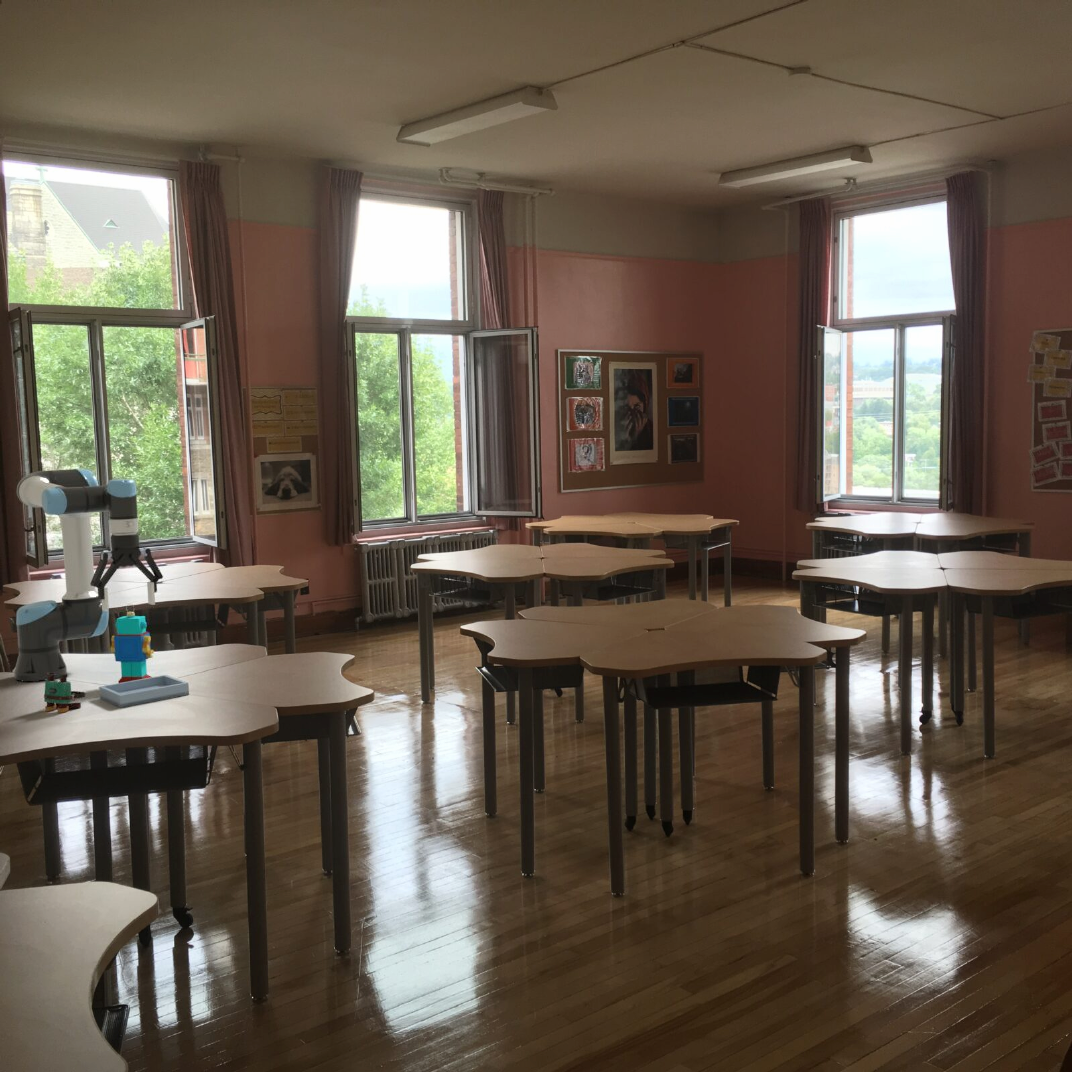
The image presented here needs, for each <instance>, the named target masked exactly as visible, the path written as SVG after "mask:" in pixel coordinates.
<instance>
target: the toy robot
mask: <svg viewBox="0 0 1072 1072" xmlns="http://www.w3.org/2000/svg"><path fill="white" fill-rule="evenodd" d="M129 605H132V606H133V604H132V603H129V604H127V605H126V607H125V609H126V611H127V612H126V615H125V616H120V617H118V618H116V622H115V625H114V626H115V628H116V630H117V631H116V632H117V634H115V635H112V636H111V639H110V640H111V646H110V652H111V653H113V655H114V659H115V660H114V661H115V662H118V663H119V662H120V669H121V677H120V678H119V680H118V683H123V682H128V681H134V680H140V679H145V678H151V677H152V676H151V675H148V673H147V672H148V670H147V660H148V659H153V658H154V656H153V654H155V651H154V649H151V640H152V639H151V638H152V637H151V635H150V633H151V632H149V631H147V626H148V624H147V622H146V616H145V615H141V616H139V615H136V614H135V609H133V611H128V609H127V608H128V606H129Z"/></svg>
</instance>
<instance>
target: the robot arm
mask: <svg viewBox="0 0 1072 1072" xmlns="http://www.w3.org/2000/svg"><path fill="white" fill-rule="evenodd" d="M136 486H137V485H136V481H135V480H134V479H132V478H127V479H126V478H125V479H124V478H123V479H122V478H121V479H120V478H118V479H109V480H108V482H107V484H102V485H99V483H98V479H97V478H96V475H95V474H94V473H93V472H92V471H91V470H89V469H82V468H74V469H55V470H54V469H52V470H37V471H34V472H31V473H29V474H27V475H25V476H24V477H23V478H21V479H20V480H19V482H18V483H17V486H16V496H17V498H18V499H19V501H20V502H21V503H22V504H23V505H25V506H28V507H30V508H42V509H43V513H44V514H46V515H49V516H51V515H54V516H59V517H60V523H61V536H62V549H63V560H64V561H63V562H64V563H63V564H64V575H65V588H66V589H65V590H66V592H65V593H64V595H63V596H62V597H61V603H59V604H58V603H57V601H55V600H54V599H53V600H51V599H50V600H41V601H36V602H32V603H31V602H30V603H27V604H25V605H23V606H21V607H19V608H18V610H16V622H15V624H16V631H17V645H18V657H17V661H16V664H15V668H14V672H13V675H14V676H13V677H14V678H15V679H17V680H21V681H20V682H23V681H33V682H40V681H39V680H44V681H46V680H45V679H48V677H47V673H48V672H52V673H55V674H56V675H55V677H54V680H56V679H60V678H59V676H60V675H63V674H68V670H67V665H66V662H65V660H64V658H63V655H62V653H61V651H60V642H62V641H63V642H64V641H67V640H68V641H69V640H77V639H83V638H88V639H90V638H93V637H96V636H101V635H103V634H104V633H105V632H106V629H107V628H108V623H109V611H110V610H109V609H110V607H109V594H108V593H109V592H108V590H109V589H108V587H106V585H107V584H108V583H109V581H110V580H111V578H112V577H113V576H114V574H115V573H116V572H117V570H118V569H119V568H120V567H122V568H124V567H128V566H129V567H133V566H135V567H136V568H137V569H138V570H139V571H140V572H141V573H142V574H143V575H144V576H145V577H146V578H147V579H148V580H149V581H146V587H147V603H148V605H153V606H154V605H156V599H155V593H157V592H158V583H157V582H159V580H162V579H163V578H164V575H163V574H162V572H161V569H159V567H158V564H157V563H156V561H155V559H154V558H153V556H152V551H151V549H150V548H148V547H144V548H143V549H140V535H139V534H138V532H139V518H138V499H137V494H138V491H137V487H136ZM103 512H105V513H106V512H108V515H109V531H110V534H111V535H110V547H111V551H110V553H109V552H104V551H102V552H100V555H99V557H100V558H99V562H98V564H97V567H96V568H94V555H93V553H94V552H93V541H92V540H93V539H92V538H93V537H92V530H91V529H92V526H91V515H93V513H103ZM140 556H142V557H143V558H144V560H145V561H146V564H147V565H148V567H149V569H150V570H151V571H150V570H149V569H148V567H146V566H145V565H144V564H143V562H142V561H141V560H140V559H139V558H141V557H140ZM110 558H111V559H112V561H111V563H110V565H109V567H108V568H107V570H106V571H105V569H106V567H107V565H108V561H109V560H110ZM96 588H97V590H96ZM55 678H56V679H55ZM15 679H14V680H15ZM17 680H16V681H17ZM22 680H23V681H22Z"/></svg>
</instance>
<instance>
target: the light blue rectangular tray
mask: <svg viewBox="0 0 1072 1072" xmlns="http://www.w3.org/2000/svg"><path fill="white" fill-rule="evenodd" d="M189 687H190V685H189V682H187V681H184V680H182V679H179V678H176V677H173V676H170V675H168V674H162V675H158V676H151V678H145V679H140V680H134V681H128V682H123V683H114V684H106V685H102V686H101V685H100V686H98V690H99V699H100V700H102V701H104V702H106V703H109V704H111V705H114V706H116V707H118V708H120V709H123V708H127V707H133V706H132V705H134V706H138V705H143V704H142V703H144V704H147V703H153V702H152V701H154V702H159V701H163V700H162V699H164V700H168V699H173V698H172V697H174V698H178V696H180V697H183V695H185V696H188V695H190V690H189V689H190V688H189Z"/></svg>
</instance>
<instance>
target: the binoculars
mask: <svg viewBox="0 0 1072 1072" xmlns="http://www.w3.org/2000/svg"><path fill="white" fill-rule="evenodd" d="M55 675H56V674H55V673H52V672H48V673H47V677H48V680H45V684H44V695H43V698H44V702H46V705H45V706H44V710H45V712H51V711H54V710H56V709H57V713H59V714H60V713H61V714H62V713H66V712H68V711H69V709H73V708H82V703H81V702H75V701H76V699H80V698H81V699H82V698H85V697H86V692H84V691H77V690H72V687H71V686H72V684H71V681H67V680H68V679H67V678H68V673H67V674H63V675H60V676H59V678H58V679H59V681H58V680H56V679H54V677H55ZM72 701H74V702H72Z"/></svg>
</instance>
